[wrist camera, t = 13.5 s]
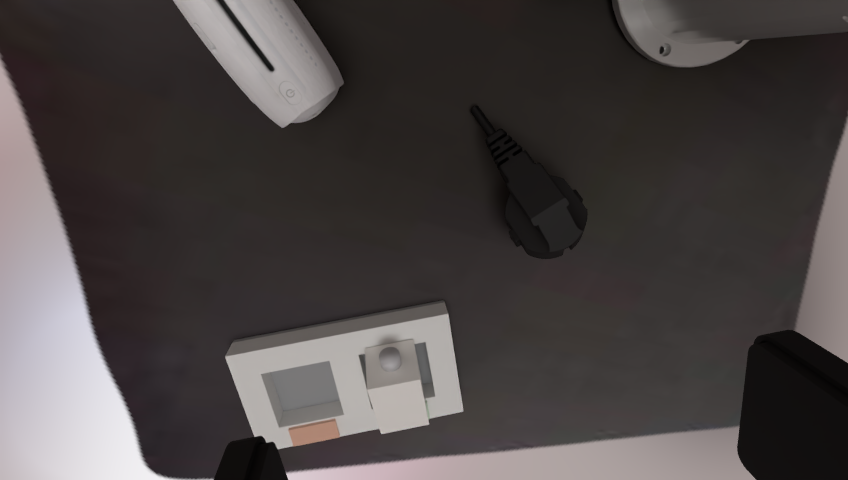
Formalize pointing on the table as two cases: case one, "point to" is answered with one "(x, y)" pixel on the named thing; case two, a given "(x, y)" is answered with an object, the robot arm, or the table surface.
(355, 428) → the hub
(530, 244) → the power plug
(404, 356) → the plug
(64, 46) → the table surface
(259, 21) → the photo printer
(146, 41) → the table surface
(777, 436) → the robot arm
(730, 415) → the table surface
